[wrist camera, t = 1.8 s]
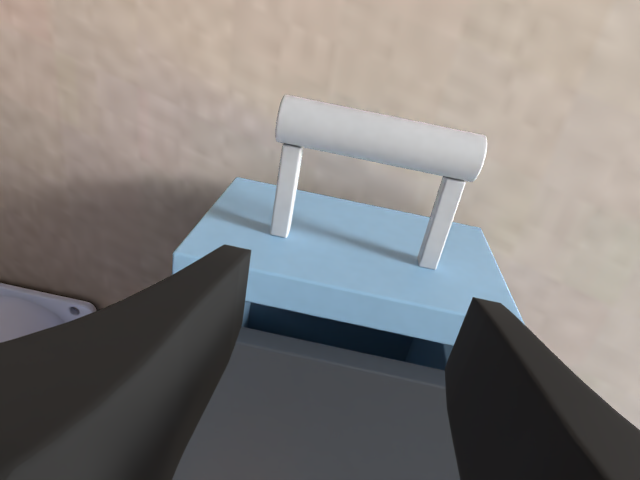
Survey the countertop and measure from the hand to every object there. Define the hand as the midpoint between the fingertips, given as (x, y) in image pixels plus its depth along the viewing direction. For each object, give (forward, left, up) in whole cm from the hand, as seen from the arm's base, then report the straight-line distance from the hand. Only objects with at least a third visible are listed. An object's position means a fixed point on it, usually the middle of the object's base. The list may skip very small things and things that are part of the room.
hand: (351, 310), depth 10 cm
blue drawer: (0, -5, -9) cm, 11 cm away
